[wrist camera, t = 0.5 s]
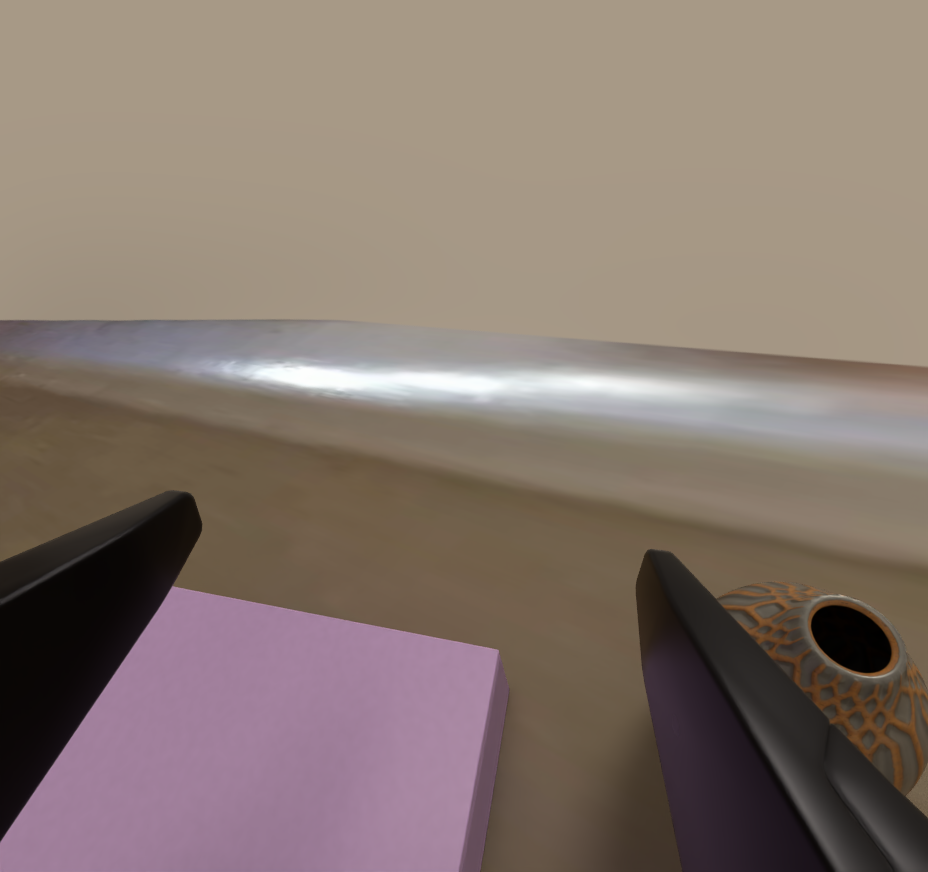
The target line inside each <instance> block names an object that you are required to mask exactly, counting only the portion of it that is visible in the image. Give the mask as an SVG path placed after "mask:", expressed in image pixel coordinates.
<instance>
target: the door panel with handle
mask: <svg viewBox="0 0 928 872" xmlns="http://www.w3.org/2000/svg"><path fill="white" fill-rule="evenodd" d="M499 660H500V653H499V650H497V649H491V648H486V647H481V646H476V645H471V644H466V643H461V642H455V641H450V640H445V639H440V638H435V637H430V636H424V635H419V634H414V633H409V632H404V631H399V630H394V629H388V628H383V627H378V626H373V625H368V624H363V623H357V622H352V621H347V620H342V619H337V618H332V617H327V616H321V615H316V614H311V613H306V612H301V611H296V610H290V609H285V608H280V607H275V606H270V605H265V604H260V603H254V602H249V601H244V600H239V599H234V598H229V597H223V596H218V595H213V594H208V593H203V592H198V591H193V590H187V589H182V588H177V587H172V588H171V590H170V591H169V593H168V595H167V596H166V598H165V600H164V601H163V603H162V605H161V606H160V608H159V609H158V611H157V612H156V614H155V615H154V617H153V618H152V620H151V621H150V623H149V624H148V626H147V627H146V628H145V630H144V631H143V633H142V634H141V636H140V637H139V639H138V640H137V642H136V643H135V645H134V646H133V648H132V649H131V651H130V652H129V654H128V655H127V656H126V658H125V659H124V661H123V662H122V664H121V665H120V667H119V668H118V670H117V671H116V673H115V674H114V676H113V677H112V679H111V680H110V681H109V683H108V684H107V686H106V687H105V689H104V690H103V692H102V693H101V695H100V696H99V698H98V699H97V701H96V702H95V704H94V705H93V707H92V708H91V709H90V711H89V712H88V714H87V715H86V717H85V718H84V720H83V721H82V723H81V724H80V726H79V727H78V729H77V730H76V732H75V733H74V735H73V736H72V737H71V739H70V740H69V742H68V743H67V745H66V746H65V748H64V749H63V751H62V752H61V754H60V755H59V757H58V758H57V760H56V761H55V763H54V764H53V765H52V767H51V768H50V770H49V771H48V773H47V774H46V776H45V777H44V779H43V780H42V782H41V783H40V785H39V786H38V788H37V789H36V790H35V792H34V793H33V795H32V796H31V798H30V799H29V801H28V802H27V804H26V805H25V807H24V808H23V810H22V811H21V813H20V814H19V816H18V817H17V818H16V820H15V821H14V823H13V824H12V826H11V827H10V829H9V830H8V832H7V833H6V835H5V836H4V838H3V839H2V841H1V842H0V872H462V868H463V862H464V856H465V851H466V845H467V840H468V834H469V828H470V823H471V817H472V812H473V806H474V800H475V795H476V789H477V784H478V778H479V772H480V767H481V761H482V756H483V750H484V744H485V739H486V733H487V728H488V722H489V716H490V711H491V705H492V700H493V694H494V688H495V683H496V677H497V671H498V666H499Z"/></svg>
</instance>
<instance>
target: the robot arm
mask: <svg viewBox="0 0 928 872" xmlns="http://www.w3.org/2000/svg"><path fill="white" fill-rule="evenodd" d="M201 531H202V521H201V518H200V515H199V512H198V509H197V506H196V502H195V499H194V497H193V496H192V495H191V494H190V493H188V492H182V491H174V490H173V491H167V492H164V493H162V494H159V495H157V496H155V497H152V498H150V499H148V500H145V501H143V502H141V503H138V504H136V505H133V506H131V507H129V508H126V509H124V510H122V511H119V512H117V513H115V514H112V515H110V516H107V517H105V518H103V519H100V520H98V521H96V522H93V523H91V524H89V525H86V526H84V527H81V528H79V529H77V530H74V531H72V532H70V533H67V534H65V535H63V536H60V537H58V538H55V539H53V540H51V541H48V542H46V543H44V544H41V545H39V546H37V547H34V548H32V549H30V550H27V551H25V552H22V553H20V554H18V555H15V556H13V557H11V558H8V559H6V560H4V561H1V562H0V842H1V841H2V839H3V838H4V836H5V835H6V833H7V832H8V830H9V829H10V827H11V826H12V824H13V823H14V821H15V820H16V818H17V817H18V816H19V814H20V813H21V811H22V810H23V808H24V807H25V805H26V804H27V802H28V801H29V799H30V798H31V796H32V795H33V793H34V792H35V790H36V789H37V788H38V786H39V785H40V783H41V782H42V780H43V779H44V777H45V776H46V774H47V773H48V771H49V770H50V768H51V767H52V765H53V764H54V763H55V761H56V760H57V758H58V757H59V755H60V754H61V752H62V751H63V749H64V748H65V746H66V745H67V743H68V742H69V740H70V739H71V737H72V736H73V735H74V733H75V732H76V730H77V729H78V727H79V726H80V724H81V723H82V721H83V720H84V718H85V717H86V715H87V714H88V712H89V711H90V709H91V708H92V707H93V705H94V704H95V702H96V701H97V699H98V698H99V696H100V695H101V693H102V692H103V690H104V689H105V687H106V686H107V684H108V683H109V681H110V680H111V679H112V677H113V676H114V674H115V673H116V671H117V670H118V668H119V667H120V665H121V664H122V662H123V661H124V659H125V658H126V656H127V655H128V654H129V652H130V651H131V649H132V648H133V646H134V645H135V643H136V642H137V640H138V639H139V637H140V636H141V634H142V633H143V631H144V630H145V628H146V627H147V626H148V624H149V623H150V621H151V620H152V618H153V617H154V615H155V614H156V612H157V611H158V609H159V608H160V606H161V605H162V603H163V601H164V600H165V598H166V596H167V595H168V593H169V591H170V590H171V588H172V586H173V584H174V582H175V580H176V579H177V577H178V575H179V573H180V571H181V569H182V568H183V566H184V564H185V562H186V560H187V558H188V557H189V555H190V553H191V551H192V549H193V547H194V546H195V544H196V542H197V540H198V538H199V536H200V534H201ZM636 600H637V612H638V624H639V636H640V648H641V660H642V670H643V676H644V682H645V688H646V693H647V697H648V702H649V707H650V712H651V717H652V722H653V727H654V732H655V737H656V742H657V747H658V752H659V757H660V762H661V767H662V772H663V777H664V782H665V787H666V792H667V797H668V802H669V807H670V812H671V817H672V822H673V827H674V832H675V837H676V842H677V847H678V852H679V856H680V861H681V866H682V871H683V872H928V818H927V817H926V816H925V815H924V814H923V813H922V812H921V811H920V810H919V809H918V808H917V807H916V806H915V805H914V804H913V803H912V802H911V801H910V800H908V799H907V798H906V797H905V796H904V795H903V794H902V793H901V792H900V791H899V790H898V789H897V788H896V787H895V786H894V785H893V784H892V783H891V782H890V781H889V780H888V779H887V778H886V777H885V776H884V775H883V774H882V773H881V772H880V771H879V770H878V769H877V768H876V767H875V766H874V765H873V764H872V763H871V762H870V760H869V759H868V758H867V757H866V756H865V755H864V754H863V753H862V752H861V751H860V750H859V749H858V748H857V747H856V746H855V745H854V744H853V743H852V742H851V741H850V740H849V739H848V738H847V737H846V736H845V735H844V733H843V732H842V731H841V730H840V729H839V728H838V727H837V726H836V725H835V724H830V720H829V718H828V717H827V716H826V715H825V714H824V713H823V712H822V710H821V709H820V708H819V707H818V706H817V705H816V704H815V703H814V702H813V701H812V700H811V699H810V698H809V697H808V696H807V695H806V694H805V693H804V691H803V690H802V689H801V688H800V687H799V686H798V685H797V684H796V683H795V682H794V681H793V680H792V679H791V678H790V677H789V676H788V675H787V673H786V672H785V671H784V670H783V669H782V668H781V667H780V666H779V665H778V664H777V663H776V662H775V661H774V660H773V659H772V658H771V657H770V656H769V654H768V653H767V652H766V651H765V650H764V649H763V648H762V647H761V646H760V645H759V644H758V643H757V642H756V641H755V640H754V639H753V638H752V637H751V635H750V634H749V633H748V632H747V631H746V630H745V629H744V628H743V627H742V626H741V625H740V624H739V623H738V622H737V621H736V620H735V619H734V617H733V616H732V615H731V614H730V613H729V612H728V611H727V610H726V609H725V608H724V607H723V606H722V605H721V604H720V603H719V602H718V601H717V600H716V598H715V597H714V596H713V595H712V594H711V593H710V592H709V591H708V590H707V589H706V588H705V587H704V586H703V585H702V584H701V583H700V582H699V581H698V579H697V578H696V577H695V576H694V575H693V574H692V573H691V572H690V571H689V570H688V569H687V568H686V567H685V566H684V565H683V564H682V563H681V561H680V560H679V559H678V558H677V557H676V556H675V555H674V554H673V553H671V552H669V551H663V550H655V549H650V550H647V552H646V553H645V555H644V558H643V562H642V565H641V568H640V571H639V574H638V578H637V582H636Z"/></svg>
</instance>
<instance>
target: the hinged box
mask: <svg viewBox="0 0 928 872" xmlns="http://www.w3.org/2000/svg"><path fill="white" fill-rule="evenodd" d="M508 695H509V686H508V683H507V679H506V676H505V672H504V668H503V665H502V661H501V658H500V660H499V666H498V671H497V677H496V683H495V688H494V694H493V700H492V705H491V711H490V716H489V722H488V728H487V733H486V739H485V744H484V750H483V756H482V761H481V767H480V772H479V778H478V784H477V789H476V795H475V800H474V806H473V812H472V817H471V823H470V828H469V834H468V840H467V845H466V851H465V856H464V862H463V868H462V872H480V871H481V865H482V858H483V852H484V846H485V840H486V833H487V827H488V821H489V815H490V808H491V802H492V796H493V789H494V783H495V777H496V771H497V764H498V758H499V752H500V746H501V739H502V733H503V727H504V721H505V714H506V708H507V702H508Z"/></svg>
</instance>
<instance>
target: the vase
mask: <svg viewBox="0 0 928 872" xmlns="http://www.w3.org/2000/svg"><path fill="white" fill-rule="evenodd" d="M716 600H717V601H718V602H719V603H720V604H721V605H722V606H723V607H724V608H725V609H726V610H727V611H728V612H729V613H730V614H731V615H732V616H733V617H734V619H735V620H736V621H737V622H738V623H739V624H740V625H741V626H742V627H743V628H744V629H745V630H746V631H747V632H748V633H749V634H750V635H751V637H752V638H753V639H754V640H755V641H756V642H757V643H758V644H759V645H760V646H761V647H762V648H763V649H764V650H765V651H766V652H767V653H768V654H769V656H770V657H771V658H772V659H773V660H774V661H775V662H776V663H777V664H778V665H779V666H780V667H781V668H782V669H783V670H784V671H785V672H786V673H787V675H788V676H789V677H790V678H791V679H792V680H793V681H794V682H795V683H796V684H797V685H798V686H799V687H800V688H801V689H802V690H803V691H804V693H805V694H806V695H807V696H808V697H809V698H810V699H811V700H812V701H813V702H814V703H815V704H816V705H817V706H818V707H819V708H820V709H821V710H822V712H823V713H824V714H825V715H826V716H827V717H828V718H829V720H830V724H835V725H836V726H837V727H838V728H839V729H840V730H841V731H842V732H843V733H844V735H845V736H846V737H847V738H848V739H849V740H850V741H851V742H852V743H853V744H854V745H855V746H856V747H857V748H858V749H859V750H860V751H861V752H862V753H863V754H864V755H865V756H866V757H867V758H868V759H869V760H870V762H871V763H872V764H873V765H874V766H875V767H876V768H877V769H878V770H879V771H880V772H881V773H882V774H883V775H884V776H885V777H886V778H887V779H888V780H889V781H890V782H891V783H892V784H893V785H894V786H895V787H896V788H897V789H898V790H899V791H900V792H901V793H902V794H903V795H904V796H906V795H907V794H908V793H909V792H910V791H911V790H912V788H913V787H914V786H915V785H916V783H917V782H918V780H919V779H920V777H921V775H922V774H923V772H924V770H925V767H926V765H927V763H928V691H927V688H926V685H925V683H924V681H923V678H922V676H921V674H920V672H919V670H918V668H917V667H916V665H915V663H914V661H913V660H912V658H911V657H910V655H909V654H908V653H907V650H906V647H905V644H904V641H903V639H902V637H901V636H900V634H899V632H898V631H897V630H896V628H895V627H894V626H893V625H892V623H891V622H890V621H889V620H888V619H887V618H886V617H885V616H883V615H882V614H881V613H880V612H878V611H877V610H876V609H874V608H873V607H871V606H869V605H868V604H866V603H864V602H862V601H859V600H857V599H854V598H851V597H848V596H844V595H838V594H832V593H830V592H827V591H825V590H822V589H819V588H815V587H812V586H807V585H803V584H797V583H789V582H764V583H757V584H751V585H748V586H744V587H740V588H738V589H735V590H733V591H730V592H728V593H726V594H724V595H722V596H720V597H719V598H717V599H716Z"/></svg>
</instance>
